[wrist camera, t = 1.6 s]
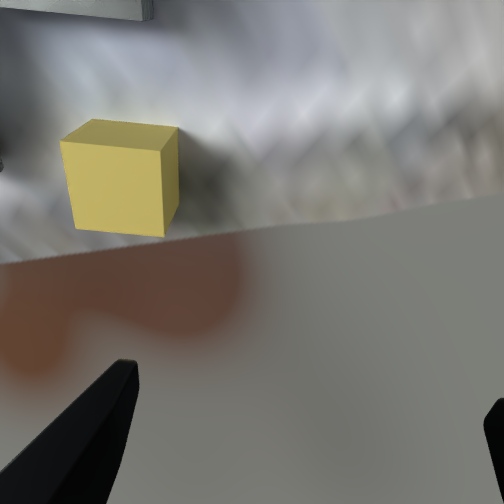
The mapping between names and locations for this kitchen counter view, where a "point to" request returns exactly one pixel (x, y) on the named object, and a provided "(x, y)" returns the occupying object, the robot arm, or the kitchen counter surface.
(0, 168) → the trolley
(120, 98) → the kitchen counter surface
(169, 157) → the block
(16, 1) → the socket
